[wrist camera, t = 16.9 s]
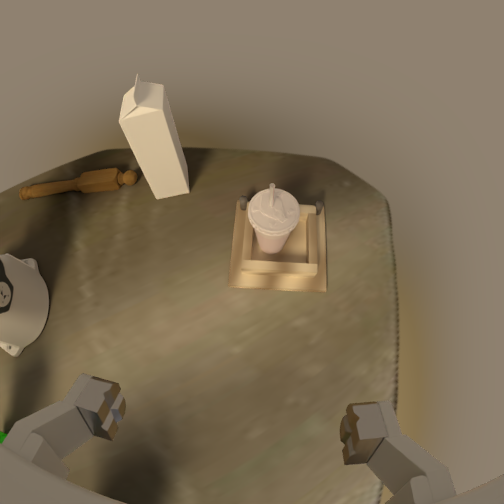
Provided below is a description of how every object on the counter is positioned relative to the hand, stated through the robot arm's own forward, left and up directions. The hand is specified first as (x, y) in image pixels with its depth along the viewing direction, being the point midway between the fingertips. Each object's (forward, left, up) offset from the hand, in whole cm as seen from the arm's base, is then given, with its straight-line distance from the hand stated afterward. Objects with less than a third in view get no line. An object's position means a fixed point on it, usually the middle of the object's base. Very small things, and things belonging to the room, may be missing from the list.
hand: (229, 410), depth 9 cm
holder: (+3, +20, -31) cm, 38 cm away
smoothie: (+2, +20, -31) cm, 37 cm away
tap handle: (-38, +31, -32) cm, 58 cm away
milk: (-16, +31, -32) cm, 47 cm away
